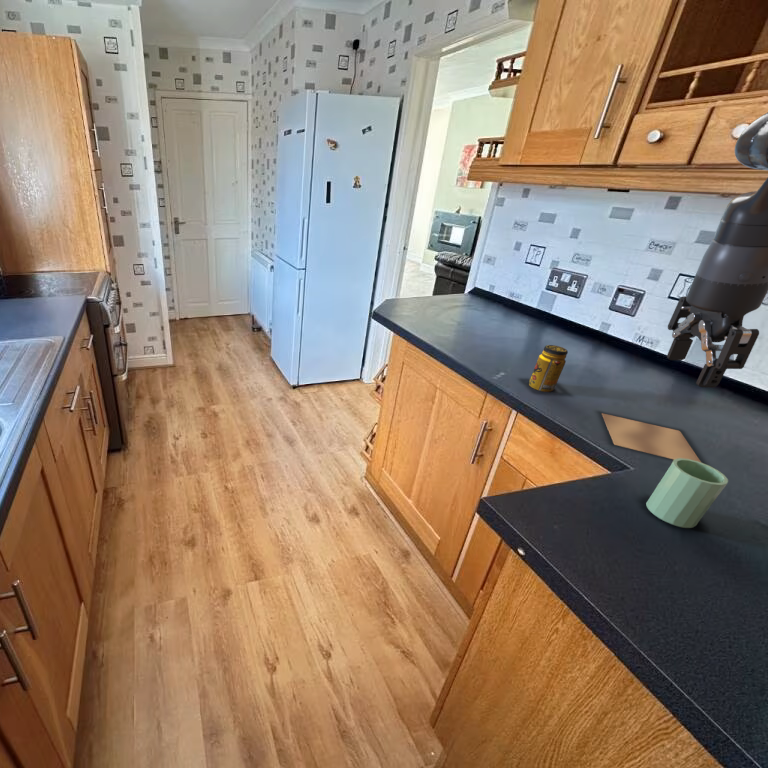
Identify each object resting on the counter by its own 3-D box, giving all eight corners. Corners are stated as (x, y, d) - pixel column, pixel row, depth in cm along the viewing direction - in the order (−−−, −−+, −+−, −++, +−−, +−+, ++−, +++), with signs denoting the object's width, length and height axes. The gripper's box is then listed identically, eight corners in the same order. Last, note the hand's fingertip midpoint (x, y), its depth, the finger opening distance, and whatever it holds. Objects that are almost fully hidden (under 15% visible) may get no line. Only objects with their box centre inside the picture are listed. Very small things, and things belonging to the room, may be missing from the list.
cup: (686, 510, 74) (718, 466, 69) (700, 535, 69) (735, 490, 64) (640, 496, 76) (667, 453, 72) (650, 520, 71) (680, 475, 66)
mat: (678, 432, 96) (679, 430, 96) (703, 468, 84) (704, 467, 84) (600, 414, 102) (601, 413, 102) (613, 446, 90) (614, 444, 90)
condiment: (521, 381, 117) (536, 342, 111) (552, 383, 116) (569, 344, 111) (534, 394, 110) (551, 353, 105) (567, 396, 110) (585, 355, 104)
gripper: (812, 289, 51) (750, 397, 59) (736, 256, 63) (693, 351, 71) (733, 292, 53) (684, 395, 62) (673, 260, 65) (639, 351, 73)
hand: (689, 372), depth 66 cm, fingers open, 8 cm apart
